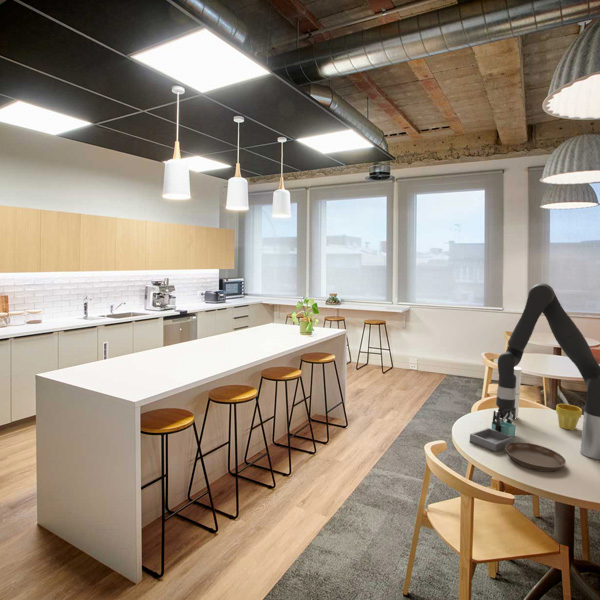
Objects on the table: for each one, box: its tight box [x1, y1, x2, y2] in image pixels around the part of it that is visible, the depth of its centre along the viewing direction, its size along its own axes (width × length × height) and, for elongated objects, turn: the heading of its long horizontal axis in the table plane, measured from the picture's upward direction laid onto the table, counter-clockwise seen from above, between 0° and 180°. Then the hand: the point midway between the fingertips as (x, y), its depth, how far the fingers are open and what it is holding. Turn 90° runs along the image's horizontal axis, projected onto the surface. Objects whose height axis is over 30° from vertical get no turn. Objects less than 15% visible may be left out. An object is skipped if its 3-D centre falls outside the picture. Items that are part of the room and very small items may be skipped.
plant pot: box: [555, 403, 583, 431], centre depth 202 cm, size 10×10×10 cm
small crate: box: [490, 421, 517, 438], centre depth 191 cm, size 6×8×5 cm
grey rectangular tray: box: [469, 427, 515, 453], centre depth 181 cm, size 14×12×4 cm
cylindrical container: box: [512, 366, 523, 419], centre depth 213 cm, size 7×7×25 cm
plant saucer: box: [504, 441, 567, 472], centre depth 166 cm, size 21×21×3 cm
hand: (503, 431), depth 191 cm, fingers open, 8 cm apart
